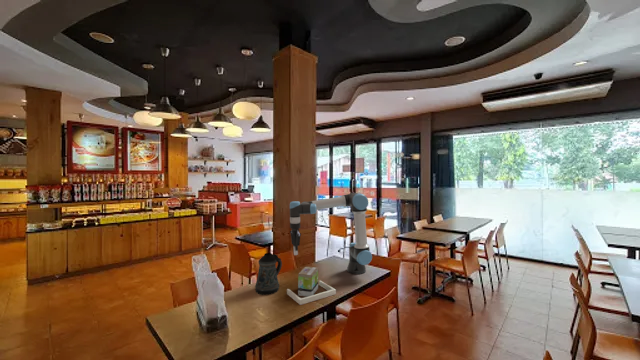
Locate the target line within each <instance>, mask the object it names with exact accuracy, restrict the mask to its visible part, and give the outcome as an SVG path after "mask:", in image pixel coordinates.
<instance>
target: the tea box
mask: <svg viewBox="0 0 640 360" xmlns="http://www.w3.org/2000/svg"><path fill="white" fill-rule="evenodd" d="M297 277H298V278H297V280H298V281H297V284H298V285H297V296H299V297H308V296H312V295H315V293H316V292H317V290H318V289H319V267H313V266H305V267H303V268H302V269H301V271H300V272H299V273H298V276H297Z"/></svg>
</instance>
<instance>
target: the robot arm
mask: <svg viewBox="0 0 640 360" xmlns="http://www.w3.org/2000/svg"><path fill="white" fill-rule="evenodd" d="M368 206H369V199H368V197H367V196H366V195H365V194H363V193H358V192H351V193H348V194H342V195H341V196H336V197H331V198H325V199H324V198H323V199H317V200H311V201H309V200H308V201H303V202H300V201H298V200H297V201H295V200H294V201H290V203H289V228H290V229H291V230H290V231H289V232H290V233H289V234H290V240H291V245H292V246H293V255H294V256H297V255H299V246H300V242H301V235H302V233H300V229H301V215H313V214H314V215H315V214H316V213H317V211H319V210H324V209H325V210H326V209H330V208H338V207H339V208H340V207H344V208H346V207H350V208H351V209H350V210H351V213H352V214H353V220H354V221H353V222H354V233H355V234H354V236H355V242H351V243H349V245H348V253H349V255H348V257H349V259H348V260H349V261H348V265H347V269H346V270H347V272H348V273H350V274H353V275H354V274H355V275H360V274H365V273H366V271H367V267H366V266H367V265H369V264H370V263H371V262H372V259H373V254H372V252H371V250H370V245H369V244H368V238H367V237H368V236H367V223H366V222H367V221H366V212H368V211H367V209H368V208H367V207H368Z"/></svg>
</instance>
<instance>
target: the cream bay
mask: <svg viewBox="0 0 640 360" xmlns="http://www.w3.org/2000/svg"><path fill="white" fill-rule="evenodd" d="M318 286H320V287H322V288H323V289H325V290H326V291H323V292H319V293H317V294H315V293H314V294H313V295H312V296H308V297H307V296H304V297H301V296H299V295H298V294H296V293H295V292H293V291H292V290H291V289H290V288H287V289H286V295H287V296H289V297H290V298H291V299H293V301H294V302H296V303H298V305H300V306H301V305H305V304H308V303H311V302H314V301H318V300H322V299H325V298H328V297H331V296H334V295H336V294H337V289H335V288H334V287H332V286H331V285H329V284H327V283H326V282H324V281H323V280H318Z"/></svg>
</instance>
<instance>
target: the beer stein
mask: <svg viewBox="0 0 640 360" xmlns="http://www.w3.org/2000/svg"><path fill="white" fill-rule="evenodd" d="M276 264H277V265H276ZM282 267H283V262H282V259H281V258H280V257H278V254H275V253H272V252H267V253H264V255H263V256H261V258H259V260H258V272H257V278H256V281H255V282H256V283H255V285H254V289H255V293H256V294H257V295H260V296H271V295H273V294H275V293H278V291H279V289H280V283H279V280H278V275H279V273H280V272H281V269H282Z"/></svg>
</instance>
